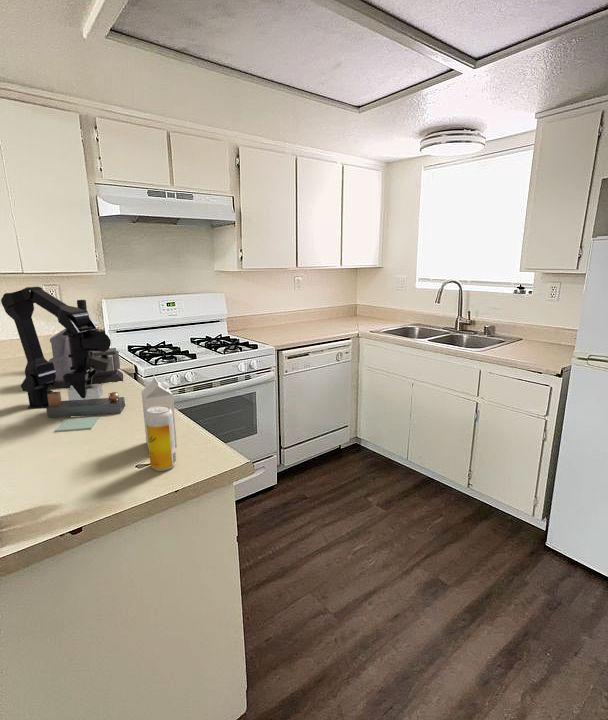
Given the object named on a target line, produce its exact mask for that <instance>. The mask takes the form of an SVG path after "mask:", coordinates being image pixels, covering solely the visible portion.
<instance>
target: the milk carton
mask: <svg viewBox="0 0 608 720" xmlns="http://www.w3.org/2000/svg"><path fill="white" fill-rule="evenodd" d="M141 399H142V408H143V409H142V411H143V420H144V430H145V441H146V442H145V443H146V445H147V448H148V449H149V444H148V434H147V424H146V413H147V410H148V409H149V408H151V407H154V406H161V405H164V406H169V407H170V409H171V411H172V414H173V426H174V438H175V448H176V447H178V443H177V430H176V417H175V404H174V395H173V393H172V391H171V390H170V385H169V383H168V382H165V381H162V382H159V380H158V379H157V378H156V376H155V375H153V379H152V381H150V382H149V383H148V384H147V385H146V386H145V388H143V389H142V390H141Z"/></svg>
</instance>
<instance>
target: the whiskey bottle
mask: <svg viewBox="0 0 608 720" xmlns="http://www.w3.org/2000/svg"><path fill="white" fill-rule="evenodd" d="M76 305H77V308H80V309H82V310H85V311H86V312H87V313H88V314H89V312H88V308H87V300H86V299H77V300H76ZM95 325H96V327H97V328H98V330H100V326H99V325H97V324H95ZM79 329H80V328H79Z"/></svg>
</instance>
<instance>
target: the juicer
mask: <svg viewBox="0 0 608 720" xmlns="http://www.w3.org/2000/svg"><path fill="white" fill-rule="evenodd" d="M65 331H66V328H64V329H62V330H60V331H59V332H57V333H56V334H54V335H53V336H51V337H50V338H49V343H50V345H51V351H52V352H51V353H52V357H51V358H49V360H47V361H48V362H52V363H53V364H54V369H55V371H56V378H55V384H54V386H50V387H51V390H54V389H53V388H66V389H69V388H70V386H71V384H70V382H69V383H64V381H63V376H64V375H65V374H66V373H67V372H68V371H75V370H70V367H71V366H72V362H71V358H69V356H68V354H70V347H69V340H68V336H64V335H63V333H64V332H65ZM92 352H93V355H94V356H99V357H101V356H102V355H103V354H104V353H105V354H108V356H109V359H111V363H110V366H109V369H108V370H107V371H106V372H104V371H101V370H98V369H94V368H93V370H98V371H97V372H96V373H95V374H94V375H93V378H92V384H99V383H102V384H110V383H109V382H112V383H118V381H122V382H124V381H123V374H124V373H123V372H121V370H120V369H121V361H120V353H119V352H120V351H119V350H117V348H116V347H111V348H109V349H108V350H107V351H105V352H99V351H92Z"/></svg>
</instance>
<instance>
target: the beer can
mask: <svg viewBox="0 0 608 720" xmlns="http://www.w3.org/2000/svg"><path fill="white" fill-rule="evenodd" d="M146 424H147V434H148V444H149V448H148V454H149V462H150V467H151V468H152V469H153V470H154V471H156V472H164V471H168V470H171V469H173V467H174V466H175V465H176V464H177V453H176V447H175V438H174V426H173V414H172V411H171V409H170V407H169V406H164V405H161V406H154V407H151V408H149V409H148V410H147V413H146Z"/></svg>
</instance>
